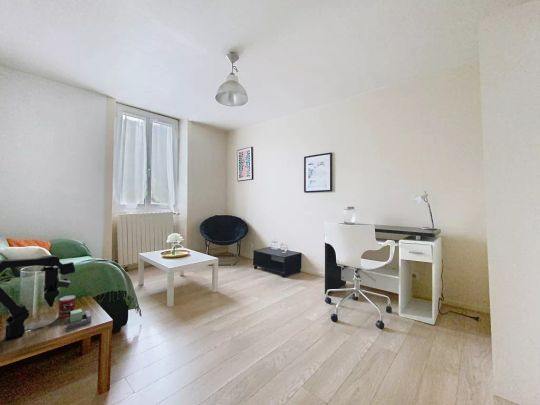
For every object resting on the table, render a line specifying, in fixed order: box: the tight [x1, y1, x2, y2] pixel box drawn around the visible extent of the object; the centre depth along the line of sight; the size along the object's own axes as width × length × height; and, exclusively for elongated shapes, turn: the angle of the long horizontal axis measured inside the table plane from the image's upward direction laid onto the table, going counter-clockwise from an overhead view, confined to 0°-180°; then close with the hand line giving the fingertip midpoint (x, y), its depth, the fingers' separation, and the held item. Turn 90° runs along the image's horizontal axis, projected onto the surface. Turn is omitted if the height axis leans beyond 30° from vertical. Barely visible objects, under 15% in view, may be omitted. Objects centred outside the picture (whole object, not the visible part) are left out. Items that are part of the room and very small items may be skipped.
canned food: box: [58, 294, 76, 319], centre depth 149 cm, size 8×8×11 cm
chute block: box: [69, 308, 83, 323], centre depth 140 cm, size 5×5×7 cm
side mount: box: [65, 309, 92, 330], centre depth 140 cm, size 11×10×4 cm
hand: (50, 304), depth 137 cm, fingers open, 9 cm apart
